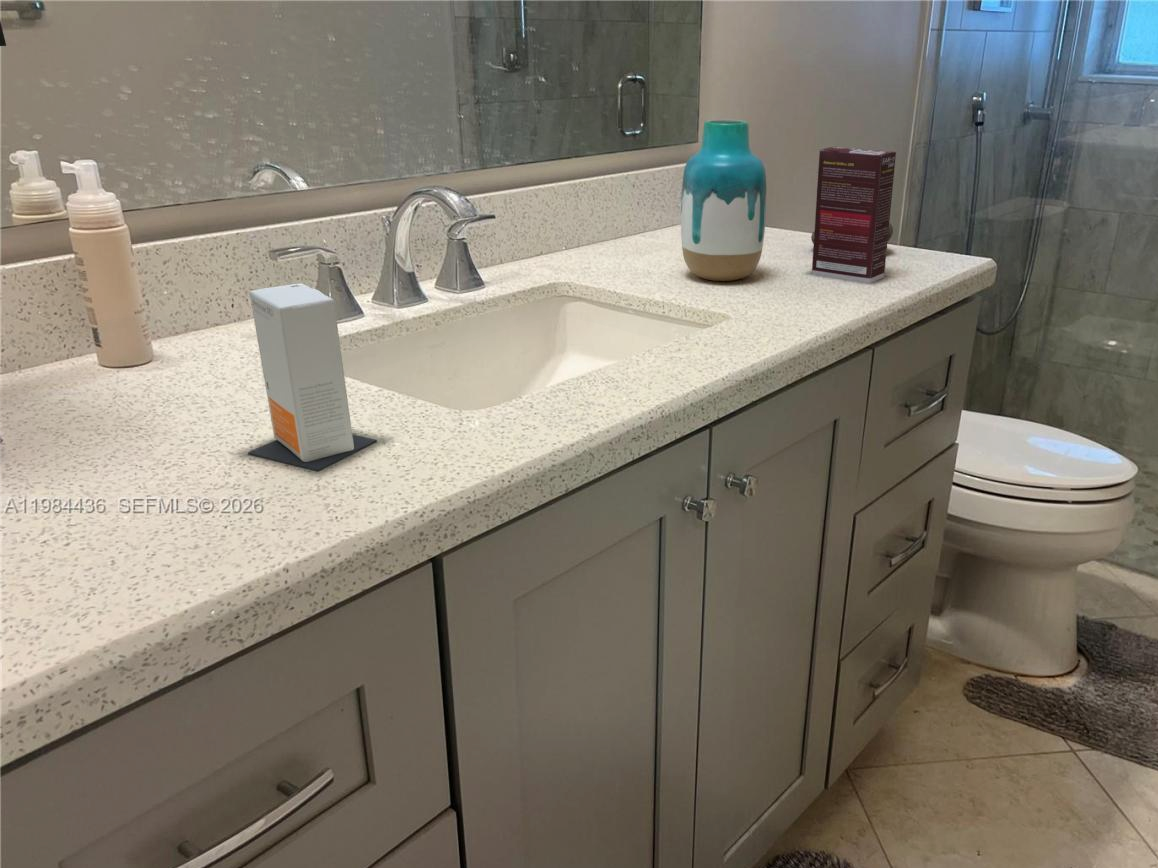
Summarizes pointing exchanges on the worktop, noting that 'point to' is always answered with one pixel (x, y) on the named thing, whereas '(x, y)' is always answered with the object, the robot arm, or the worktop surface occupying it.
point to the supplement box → (852, 213)
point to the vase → (723, 204)
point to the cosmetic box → (303, 370)
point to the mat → (286, 456)
